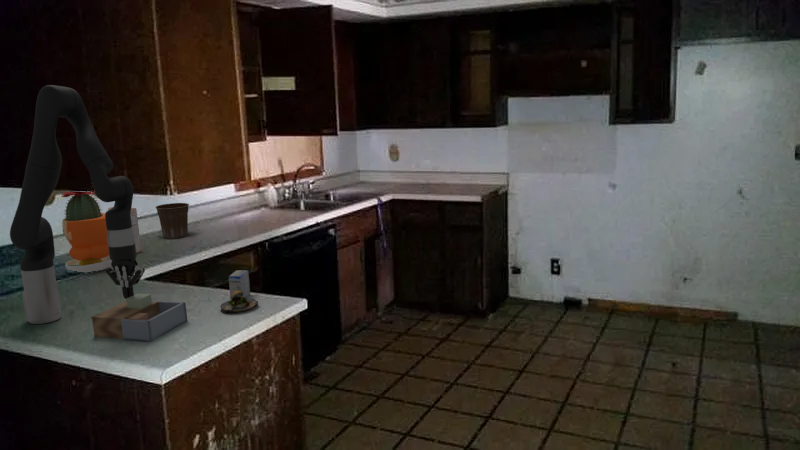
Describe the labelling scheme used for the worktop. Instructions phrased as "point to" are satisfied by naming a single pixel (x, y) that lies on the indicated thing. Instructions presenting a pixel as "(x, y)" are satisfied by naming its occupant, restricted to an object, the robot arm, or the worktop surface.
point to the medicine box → (239, 282)
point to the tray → (155, 322)
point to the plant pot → (173, 219)
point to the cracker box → (135, 229)
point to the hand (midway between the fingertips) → (128, 298)
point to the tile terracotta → (139, 316)
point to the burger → (238, 303)
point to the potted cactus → (85, 233)
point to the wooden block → (119, 319)
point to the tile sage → (139, 301)
